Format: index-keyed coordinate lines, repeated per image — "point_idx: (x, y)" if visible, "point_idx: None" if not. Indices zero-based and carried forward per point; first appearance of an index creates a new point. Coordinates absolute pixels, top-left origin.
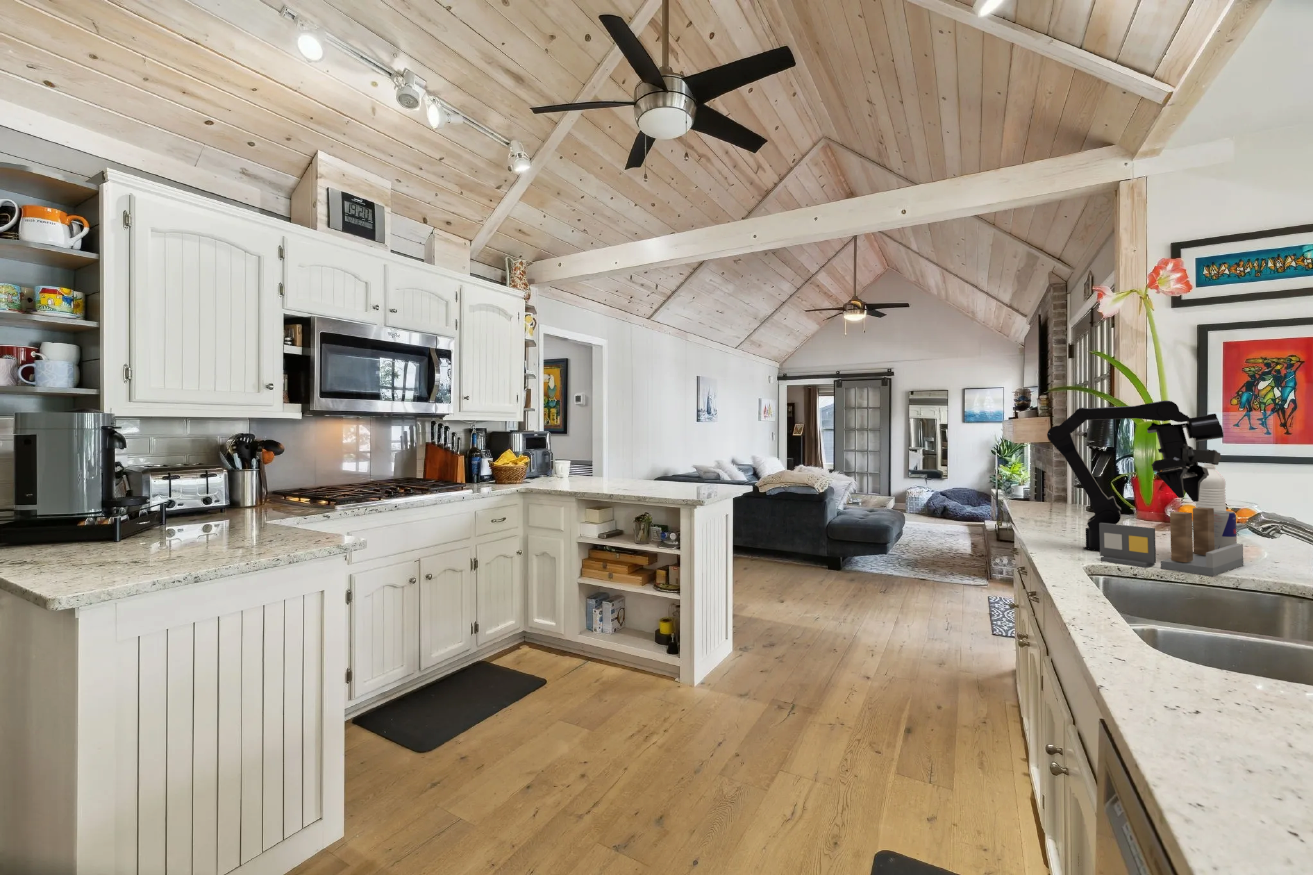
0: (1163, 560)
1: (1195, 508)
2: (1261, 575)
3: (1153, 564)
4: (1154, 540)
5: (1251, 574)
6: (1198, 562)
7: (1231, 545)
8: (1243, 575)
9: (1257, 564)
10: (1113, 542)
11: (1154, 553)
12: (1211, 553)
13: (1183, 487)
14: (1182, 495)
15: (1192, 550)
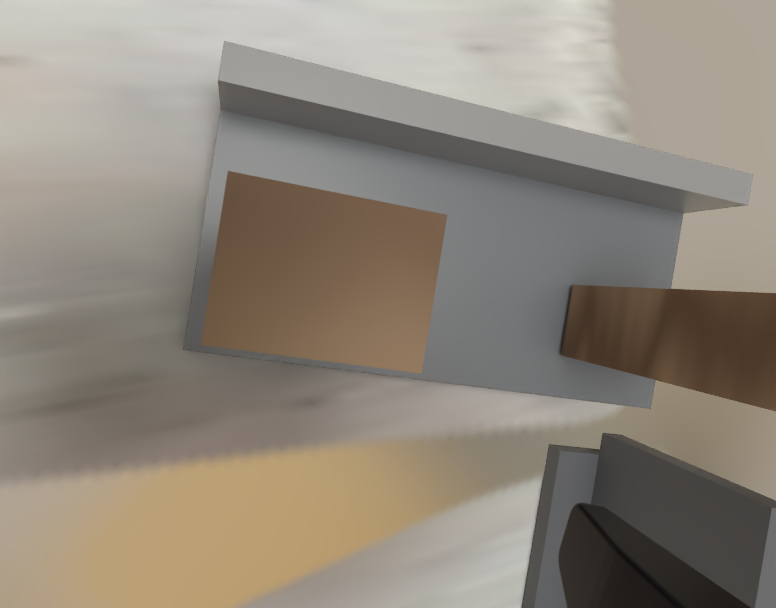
0: (631, 401)
1: (402, 346)
2: (483, 14)
3: (563, 447)
4: (709, 476)
5: (487, 54)
6: (576, 260)
7: (357, 105)
8: (540, 85)
9: (113, 26)
10: None
11: (652, 450)
12: (750, 179)
13: (689, 602)
14: (620, 526)
15: (613, 287)
